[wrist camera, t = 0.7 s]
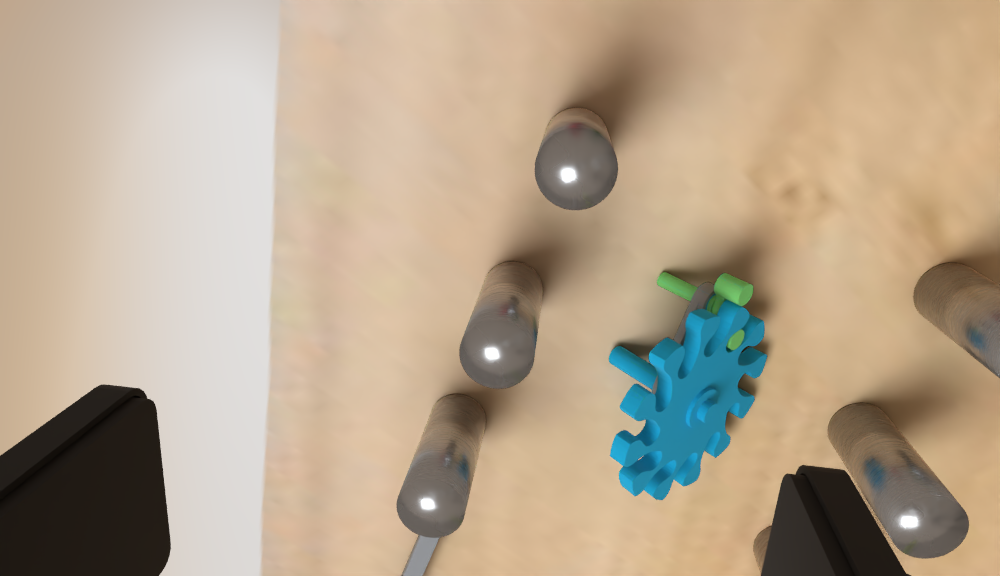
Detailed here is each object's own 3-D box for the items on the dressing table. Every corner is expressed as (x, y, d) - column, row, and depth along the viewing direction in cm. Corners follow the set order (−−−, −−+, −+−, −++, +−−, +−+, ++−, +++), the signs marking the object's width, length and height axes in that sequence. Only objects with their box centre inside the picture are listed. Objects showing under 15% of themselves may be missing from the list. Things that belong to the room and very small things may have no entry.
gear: (720, 498, 38) (603, 520, 31) (633, 438, 42) (512, 444, 35) (814, 302, 36) (711, 277, 28) (713, 258, 40) (601, 226, 32)
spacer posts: (994, 277, 34) (1112, 344, 27) (793, 577, 41) (842, 700, 33) (558, 97, 34) (553, 114, 26) (423, 431, 40) (387, 522, 32)
